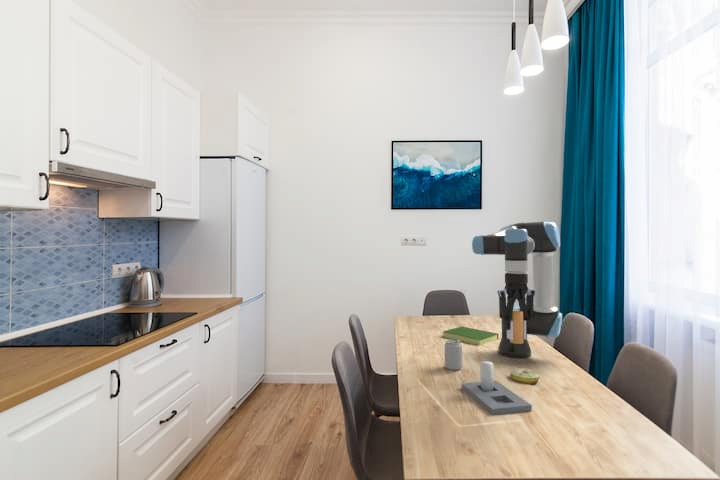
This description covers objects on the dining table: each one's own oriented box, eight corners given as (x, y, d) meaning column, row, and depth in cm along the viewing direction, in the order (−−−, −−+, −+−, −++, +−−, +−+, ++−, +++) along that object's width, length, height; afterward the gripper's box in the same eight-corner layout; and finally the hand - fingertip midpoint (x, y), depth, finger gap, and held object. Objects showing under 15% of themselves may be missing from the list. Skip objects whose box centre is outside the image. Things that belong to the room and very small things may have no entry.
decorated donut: (543, 380, 153) (542, 370, 153) (533, 387, 145) (533, 378, 145) (516, 373, 160) (516, 364, 160) (506, 381, 152) (506, 371, 152)
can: (462, 371, 162) (462, 343, 162) (444, 370, 164) (444, 342, 164) (461, 365, 170) (461, 339, 170) (444, 364, 171) (444, 338, 171)
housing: (461, 389, 143) (461, 383, 143) (495, 386, 146) (495, 380, 146) (492, 416, 121) (492, 409, 121) (531, 412, 124) (531, 405, 124)
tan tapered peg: (518, 340, 136) (518, 309, 136) (526, 343, 132) (525, 311, 132) (507, 340, 135) (507, 310, 135) (514, 344, 131) (514, 312, 131)
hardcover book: (498, 340, 213) (498, 333, 213) (479, 346, 201) (479, 339, 201) (460, 332, 232) (460, 326, 232) (441, 337, 220) (441, 331, 220)
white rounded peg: (489, 390, 141) (489, 360, 141) (495, 394, 137) (495, 364, 137) (478, 391, 140) (478, 361, 140) (484, 395, 136) (484, 365, 136)
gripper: (531, 271, 139) (531, 334, 139) (488, 272, 136) (488, 337, 136) (545, 272, 132) (545, 340, 132) (499, 273, 128) (500, 342, 128)
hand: (516, 338), depth 134 cm, fingers closed on tan tapered peg, 4 cm apart
